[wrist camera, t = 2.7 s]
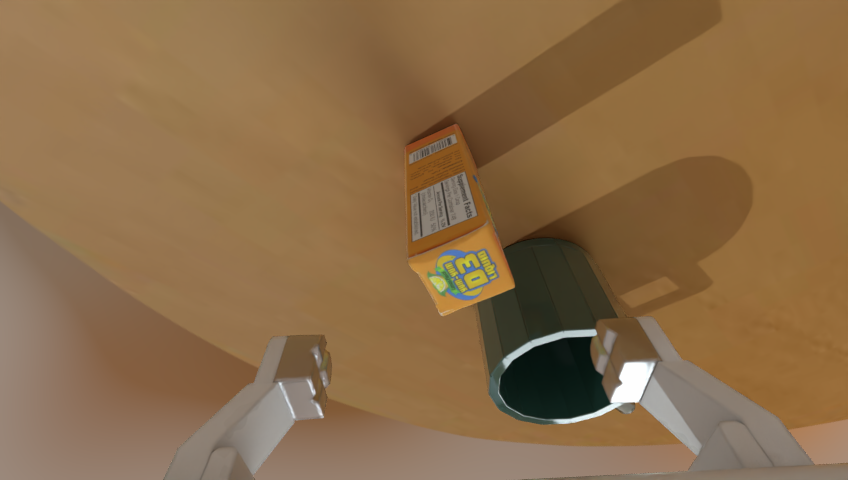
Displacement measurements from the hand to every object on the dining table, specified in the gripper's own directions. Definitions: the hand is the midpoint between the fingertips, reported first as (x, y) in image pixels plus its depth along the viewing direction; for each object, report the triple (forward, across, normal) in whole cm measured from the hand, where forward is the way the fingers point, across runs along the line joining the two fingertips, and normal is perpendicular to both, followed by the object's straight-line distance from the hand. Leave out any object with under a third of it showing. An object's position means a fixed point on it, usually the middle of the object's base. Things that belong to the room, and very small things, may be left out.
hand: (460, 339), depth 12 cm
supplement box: (+13, 0, 0) cm, 13 cm away
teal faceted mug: (+13, -7, +11) cm, 18 cm away
